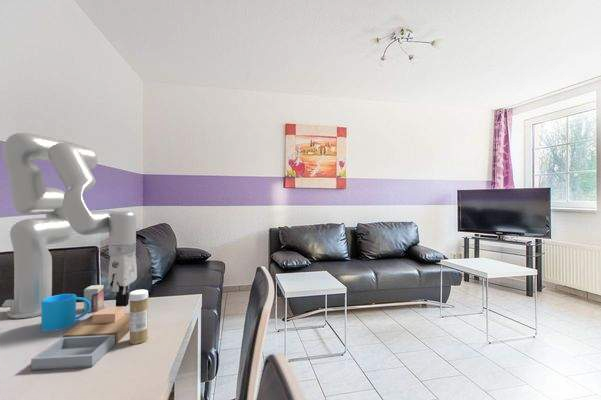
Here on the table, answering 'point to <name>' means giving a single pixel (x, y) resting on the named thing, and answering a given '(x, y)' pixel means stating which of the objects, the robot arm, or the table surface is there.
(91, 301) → the small box
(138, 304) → the sprinkles bottle
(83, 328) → the board
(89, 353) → the tray
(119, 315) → the tile
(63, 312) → the mug
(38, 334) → the table surface
